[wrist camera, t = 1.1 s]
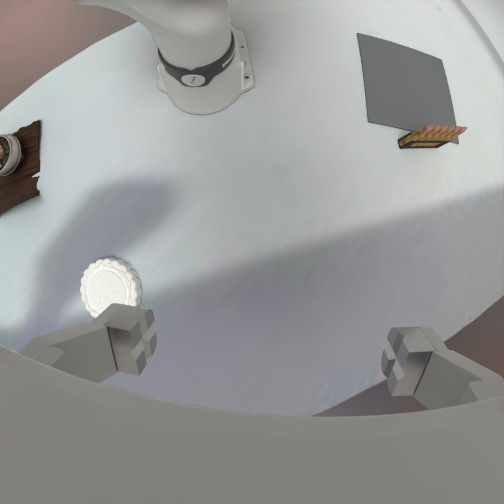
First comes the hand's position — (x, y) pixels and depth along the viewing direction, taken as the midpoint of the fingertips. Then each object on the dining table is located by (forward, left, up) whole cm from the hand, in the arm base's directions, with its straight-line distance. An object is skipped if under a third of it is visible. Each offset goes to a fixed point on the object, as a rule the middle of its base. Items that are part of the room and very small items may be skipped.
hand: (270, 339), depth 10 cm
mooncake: (+7, -25, -43) cm, 50 cm away
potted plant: (-17, -54, -43) cm, 71 cm away
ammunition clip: (-25, +34, -43) cm, 60 cm away
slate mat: (-40, +34, -42) cm, 68 cm away
